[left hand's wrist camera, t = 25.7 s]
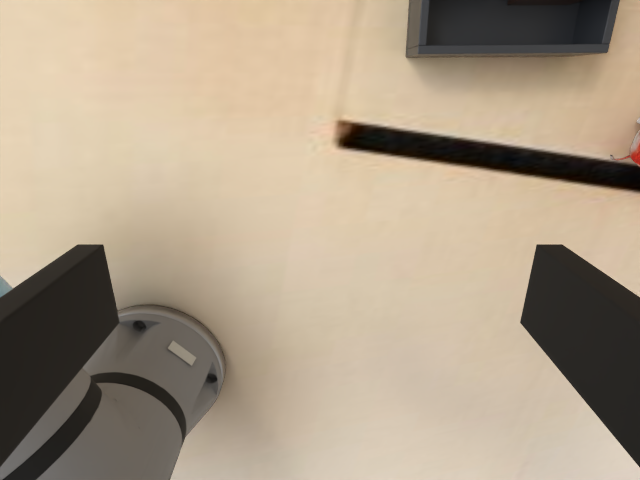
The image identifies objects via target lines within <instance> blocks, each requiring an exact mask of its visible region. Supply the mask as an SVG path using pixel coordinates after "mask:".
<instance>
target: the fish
mask: <svg viewBox="0 0 640 480" xmlns="http://www.w3.org/2000/svg"><path fill="white" fill-rule="evenodd" d="M637 123H639V124H640V118H639V119H638V120H637ZM610 156H611V159H613V160H622V159H626V158H630V157H631V158H632V160H633V161H634V162H635V163H636V164H637V165H638V166H640V130H639V131H638V132H637V134H636V136H635V138H634V140H633V143H632V145H631V147H630V155H629V156H627V157H625V158H618V159H614V158H613V156H612V155H610Z"/></svg>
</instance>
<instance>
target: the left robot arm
mask: <svg viewBox="0 0 640 480" xmlns="http://www.w3.org/2000/svg"><path fill="white" fill-rule="evenodd" d="M520 323H521V324H522V325H523V326H524V328H525V329H526V330H527V331H528V332H529V334H530V335H531V336H532V337H533V339H534V340H535V341H536V342H537V343H538V345H539V346H540V347H541V348H542V349H543V351H544V352H545V353H546V354H547V355H548V357H549V358H550V359H551V360H552V362H553V363H554V364H555V365H556V366H557V368H558V369H559V370H560V371H561V372H562V374H563V375H564V376H565V377H566V379H567V380H568V381H569V382H570V383H571V385H572V386H573V387H574V388H575V389H576V391H577V392H578V393H579V394H580V395H581V397H582V398H583V399H584V400H585V402H586V403H587V404H588V405H589V406H590V408H591V409H592V410H593V411H594V412H595V414H596V415H597V416H598V417H599V418H600V420H601V421H602V422H603V423H604V425H605V426H606V427H607V428H608V429H609V431H610V432H611V433H612V434H613V435H614V437H615V438H616V439H617V440H618V441H619V443H620V444H621V445H622V446H623V448H624V449H625V450H626V451H627V452H628V454H629V455H630V456H631V457H632V458H633V460H634V461H635V462H636V463H637V464H638V466H639V467H640V297H638V296H637V295H635V294H634V293H633V292H631V291H630V290H628V289H627V288H625V287H624V286H622V285H621V284H619V283H618V282H616V281H615V280H613V279H612V278H610V277H609V276H608V275H606V274H605V273H603V272H602V271H600V270H599V269H597V268H596V267H594V266H593V265H591V264H590V263H588V262H587V261H585V260H584V259H583V258H581V257H580V256H578V255H577V254H575V253H574V252H572V251H571V250H569V249H568V248H566V247H565V246H563V245H537V246H536V251H535V256H534V260H533V265H532V270H531V274H530V279H529V284H528V289H527V293H526V298H525V303H524V307H523V312H522V317H521V322H520ZM224 376H225V360H224V356H223V352H222V350H221V347H220V346H219V344H218V342H217V340H216V339H215V337H214V336H213V335H212V334H211V333H210V331H209V330H208V329H207V328H206V327H204V326H203V325H202V324H201V323H200V322H198V321H197V320H195V319H194V318H192V317H190V316H189V315H187V314H185V313H182V312H180V311H177V310H174V309H171V308H167V307H163V306H155V305H140V306H133V307H128V308H125V309H122V310H120V311H117V307H116V303H115V298H114V293H113V289H112V284H111V279H110V274H109V270H108V265H107V260H106V256H105V251H104V246H103V245H77V246H75V247H74V248H72V249H71V250H69V251H68V252H66V253H65V254H63V255H62V256H60V257H59V258H57V259H56V260H55V261H53V262H52V263H50V264H49V265H47V266H46V267H44V268H43V269H41V270H40V271H38V272H37V273H35V274H34V275H32V276H31V277H30V278H28V279H27V280H25V281H24V282H22V283H21V284H19V285H18V286H16V287H15V288H12V287H11V286H10V285H9V284H8V283H7V282H6V281H5V280H4V279H3V278H2V277H1V276H0V480H170V478H171V475H172V472H173V470H174V467H175V464H176V461H177V458H178V456H179V453H180V450H181V447H182V444H183V442H184V439H185V437H186V436H187V434H188V433H189V432H190V431H191V430H192V429H193V428H194V426H195V425H196V424H197V423H198V422H199V421H200V419H201V418H202V417H203V416H204V415H205V414H206V413H207V411H208V410H209V409H210V408H211V407H212V405H213V404H214V402H215V401H216V399H217V397H218V395H219V393H220V390H221V387H222V384H223V381H224Z"/></svg>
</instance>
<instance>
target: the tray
mask: <svg viewBox="0 0 640 480" xmlns="http://www.w3.org/2000/svg"><path fill="white" fill-rule="evenodd" d="M619 1H620V0H583V1H580V2H577V3H573V4H570V5H507V3H508V0H409V13H408V29H407V44H406V57H525V56H579V55H589V54H599V53H607V52H608V48H609V44H610V40H611V36H612V31H613V27H614V23H615V18H616V14H617V10H618V5H619Z"/></svg>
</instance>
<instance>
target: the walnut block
mask: <svg viewBox="0 0 640 480" xmlns="http://www.w3.org/2000/svg"><path fill="white" fill-rule="evenodd" d="M580 1H583V0H508V3H507V5H570V4H573V3H577V2H580Z"/></svg>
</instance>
